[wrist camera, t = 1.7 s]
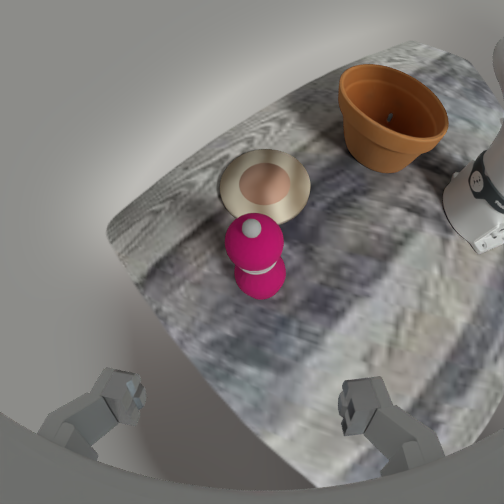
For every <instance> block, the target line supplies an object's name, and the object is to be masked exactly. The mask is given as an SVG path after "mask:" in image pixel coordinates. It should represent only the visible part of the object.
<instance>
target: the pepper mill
mask: <svg viewBox="0 0 504 504" xmlns="http://www.w3.org/2000/svg"><path fill="white" fill-rule="evenodd" d="M283 246H284V240H283V234H282V231H281V229H280V227H279V225H278V224H277V223H276V222H275V221H274V220H273V219H272V218H270V217H269V216H267V215H264V214H260V213H247V214H244V215H241V216H240V217H238V218H237V219H235V220H234V221H233V222H232V223H231V225H230V226H229V228H228V230H227V232H226V236H225V248H226V251H227V254H228V256H229V258H230V259H231V261H232V262H233V263H234V264H235V271H234V274H235V279H236V282H237V285H238V286H239V288H240V289H241V290H242V291H243V292H244V293H246V294H247V295H249V296H251V297H253V298H255V299H267V298H270V297H272V296H273V295H275V294H276V293H277V292H278V290H279V289H280V288H281V286H282V285H283V283H284V280H285V276H286V270H285V265H284V262H283V260H282V258H281V256H280V255H281V253H282V250H283Z"/></svg>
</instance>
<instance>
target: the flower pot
mask: <svg viewBox="0 0 504 504" xmlns="http://www.w3.org/2000/svg"><path fill="white" fill-rule="evenodd" d="M338 102H339V107H340V110H341V112H342V114H343V125H344V126H343V128H344V136H345V141H346V145H347V148H348V150H349V151H350V153H351V154H352V155H353V157H354V158H355V159H356V160H357V161H359V162H360V163H361V164H363V165H364V166H366V167H367V168H369V169H372V170H374V171H377V172H381V173H394V172H398V171H400V170H402V169H403V168H405V167H406V166H407V165H409V164H410V163H411V162H412V161H413V160H415V159H416V158H417V157H418V156H419V155H420V154H422V153H426V152H428V151H430V150H432V149H433V148H434V147H435V146H436V145H437V144H438V143H439V141H440V140H441V139H442V138H443V136H444V135H445V134H446V132H447V129H448V124H449V122H448V116H447V113H446V110H445V108H444V106H443V105H442V103H441V102H440V100H439V99H438V98H437V96H436V95H435V94H434V93H433V92H432V91H431V90H430V89H428V88H427V87H426V86H425V85H424V84H422V83H421V82H419V81H418V80H416V79H415V78H413V77H411V76H410V75H408V74H406V73H403V72H401V71H399V70H396V69H393V68H390V67H386V66H381V65H374V64H363V65H357V66H353V67H351V68H349V69H347V70H346V71H344V72H343V74H342V75H341V77H340V81H339V93H338ZM390 113H392V114H393V117H392V119H391V121H390V122H388V121H387V118H388V115H389V114H390Z"/></svg>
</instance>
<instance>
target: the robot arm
mask: <svg viewBox="0 0 504 504" xmlns="http://www.w3.org/2000/svg"><path fill="white" fill-rule="evenodd" d="M493 67H494V72H495V75H496V78H497V80H498V82H499V84H500V87H501V90H502V93H503V97H504V37H503V38H502V39H500V40H499V42H498V43H497V44H496V46H495V49H494V52H493ZM443 205H444V209H445V212H446V215H447V217H448V219H449V221H450V223H451V224H452V226H453V227H454V229H455V230H456V231H457V232H458V233H459V234H460V235H461V236H462V237H463V238H464V239H466V240H467V241H468V242H469V243H470V244H471V245H472V247H473V248H474V250H475V251H476V252H477V253H478V254H481V253H483V252H486V251H488V250H491V249H493V248H496V247H498V246H500V245H503V244H504V121H503V124H502V127H501V129H500V131H499V133H498V135H497V136H496V138H495V140H494V141H493V143H492V144H491V145H490V147H489V148H488V149H487V150H484V151H483V152H482V153H481V154H480V155H479V156H478V157H477V159H476V161H474V160H472V161H471V162H470V163H469V164H468V165H467V166H466V167H465V168H464V169H463V170H462V171H461V172H460V173H459V172H455V173H454V174H453V175H452V178H451V182H450V183H449V184H448V185H447V186H446V188H445V190H444V193H443ZM140 381H141V378H140V376H139V374H136V373H131V372H126V371H121V370H117V369H112V368H105V369H104V370H103V371H102V373H101V375H100V376H99V378H98V380H97V381H96V383H95V385H94V387H93V388H92V390H91V392H90V393H85V394H84V395H82V396H80V397H78V398H76V399H75V400H73V401H71V402H69V403H68V404H66V405H64V406H62V407H60V408H58V409H57V410H55V411H53V412H51V413H49V414H48V416H47V418H46V419H45V421H44V423H43V425H42V426H41V428H40V430H39V431H38V433H37V434H36V433H34V432H32V431H31V430H29V429H27V428H25V427H24V426H22V425H20V424H19V423H17V422H15V421H14V420H12V419H10V418H9V417H7V416H6V415H4V414H3V413H1V412H0V504H504V428H503V429H501V430H499V431H497V432H496V433H494V434H492V435H490V436H488V437H486V438H485V439H483V440H481V441H479V442H477V443H475V444H473V445H470V446H468V447H466V448H464V449H462V450H460V451H457V452H455V453H453V454H450V455H448V456H446V457H445V454H444V452H443V449H442V447H441V444H440V442H439V439H438V437H437V434H436V433H435V432H434V431H433V430H431V429H430V428H428V427H427V426H425V425H424V424H422V423H421V422H419V421H418V420H417V419H415V418H414V417H412V416H411V415H409V414H408V413H407V412H405V411H404V410H402V409H401V408H400V407H398V406H397V405H395V406H393V404H392V401H391V399H390V396H389V394H388V391H387V389H386V386H385V384H384V381H383V379H382V377H380V376H378V377H371V378H362V379H354V380H345V381H344V382H343V385H342V389H343V391H342V392H341V393H340V395H339V398H338V411H339V415H340V416H341V417H343V420H342V422H341V425H342V430H343V435H344V436H350V435H358V434H364V436H365V437H366V438H367V439H368V440H369V441H370V442H371V443H372V444H373V445H374V446H375V447H376V448H377V449H378V450H379V451H380V452H381V453H382V454H383V455H384V456H385V457H386V458H387V459H388V460H389V462H388V463H387V464H386V465H385V466H384V467H383V469H382V470H381V471H380V473H381V477H380V478H375V479H371V480H366V481H361V482H356V483H350V484H344V485H338V486H331V487H322V488H313V489H301V490H281V491H251V490H231V489H219V488H210V487H202V486H194V485H188V484H182V483H176V482H171V481H166V480H161V479H156V478H152V477H148V476H144V475H140V474H136V473H133V472H129V471H126V470H123V469H119V468H116V467H113V466H110V465H107V464H104V463H101V462H99V461H97V458H98V454H97V452H96V451H95V450H94V449H93V448H92V447H91V446H92V445H93V444H94V443H95V442H97V441H98V440H99V439H100V438H102V437H103V436H104V435H105V434H107V433H108V432H109V431H110V430H111V429H113V428H114V427H115V426H116V425H117V424H118V423H122V424H127V425H132V426H136V425H137V422H138V420H139V417H140V412H139V409H141V408H142V407H144V404H145V402H146V390H145V388H144V386H142V384H140Z"/></svg>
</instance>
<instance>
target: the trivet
mask: <svg viewBox="0 0 504 504" xmlns="http://www.w3.org/2000/svg"><path fill="white" fill-rule="evenodd" d="M309 193H310V180H309V176H308V173H307V171H306V170H305V168H304V167H303V165H302V164H301V163H300V162H299V161H298V160H297V159H295V158H294V157H292V156H291V155H289V154H287V153H284V152H281V151H277V150H271V149H261V150H255V151H251V152H247V153H245V154H243V155H241V156H239V157H237V158H236V159H235V160H233V161H232V162H231V163H230V164H229V165H228V167H227V168H226V169H225V171H224V173H223V175H222V177H221V181H220V194H221V197H222V200H223V203H224V205H225V207H226V209H227V210H228V211H229V213H230V214H231V215H232V216H234V217H235V218H236V219H237V218H238V217H240V216H241V215H244V214H247V213H260V214H264V215H267V216H269V217H270V218H272V219H273V220H274V221H275V222H276V223H277V224H278V225H280V224H283V223H286V222H288V221H290V220H291V219H293V218H294V217H296V216H297V215H298V214H299V213H300V212H301V211H302V210H303V208H304V207H305V205H306V203H307V201H308V197H309Z"/></svg>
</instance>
